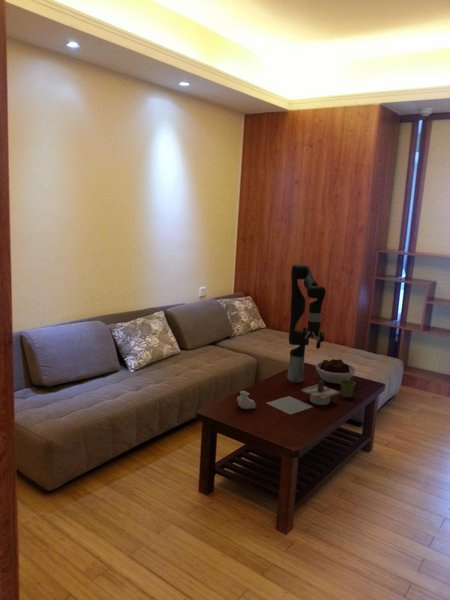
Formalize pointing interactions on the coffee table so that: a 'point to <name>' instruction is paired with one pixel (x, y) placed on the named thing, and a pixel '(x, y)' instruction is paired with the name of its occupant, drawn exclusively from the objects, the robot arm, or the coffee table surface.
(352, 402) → the coffee table surface
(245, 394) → the bust
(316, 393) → the cover board
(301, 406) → the tray
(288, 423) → the coffee table surface
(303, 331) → the robot arm
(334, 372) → the white round tub
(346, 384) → the plant pot
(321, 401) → the bowl
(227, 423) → the coffee table surface
